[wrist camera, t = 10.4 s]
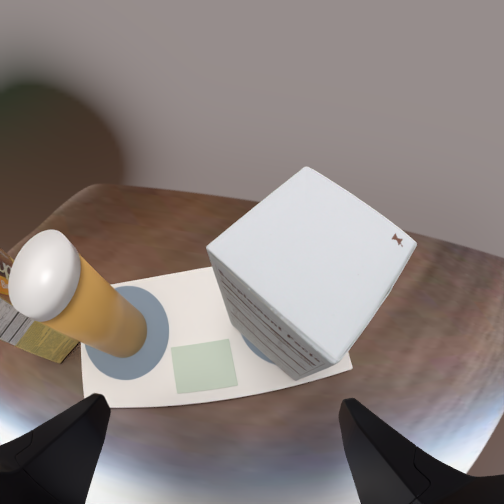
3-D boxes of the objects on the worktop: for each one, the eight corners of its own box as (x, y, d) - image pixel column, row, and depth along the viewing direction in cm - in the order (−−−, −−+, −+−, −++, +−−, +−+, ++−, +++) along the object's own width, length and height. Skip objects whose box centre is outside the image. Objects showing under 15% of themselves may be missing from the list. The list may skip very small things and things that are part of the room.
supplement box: (287, 267, 25) (308, 160, 14) (349, 320, 22) (424, 242, 11) (228, 324, 22) (200, 243, 11) (293, 385, 20) (340, 368, 9)
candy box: (30, 310, 24) (-58, 243, 10) (50, 286, 25) (-35, 209, 12) (61, 365, 21) (-55, 313, 8) (83, 339, 22) (-30, 270, 9)
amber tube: (150, 356, 21) (63, 309, 10) (100, 360, 20) (3, 316, 10) (146, 300, 23) (76, 221, 13) (99, 307, 23) (18, 239, 12)
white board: (353, 368, 21) (358, 366, 20) (91, 406, 19) (84, 406, 18) (316, 252, 27) (319, 245, 26) (88, 293, 25) (81, 288, 24)
